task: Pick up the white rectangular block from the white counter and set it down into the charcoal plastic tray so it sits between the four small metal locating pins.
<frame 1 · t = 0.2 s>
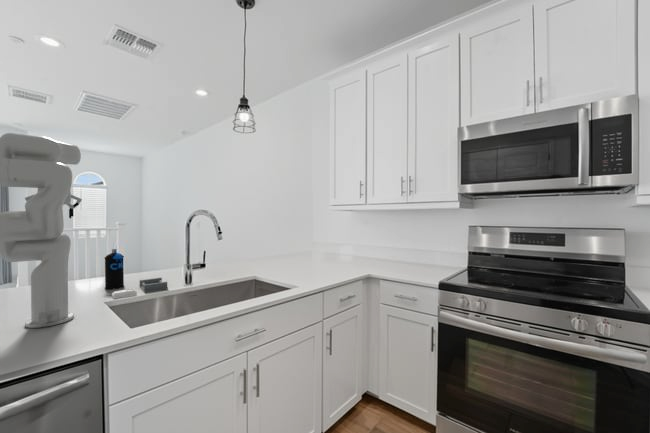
hand: (54, 218, 121), 36 cm above the worktop, tool pointing down, fingers open, 9 cm apart
white rectangular block: (124, 296, 136), on the worktop
pin tray: (153, 287, 149), on the worktop
aerosol can: (114, 288, 150), on the worktop
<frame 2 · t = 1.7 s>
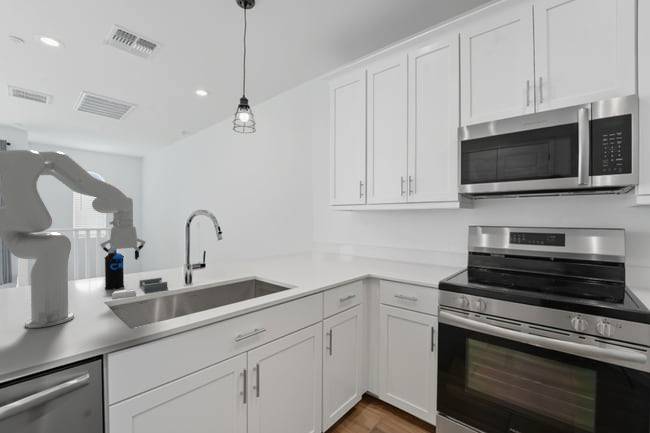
hand: (124, 260, 136), 16 cm above the worktop, tool pointing down, fingers open, 9 cm apart
nothing on the worktop moved.
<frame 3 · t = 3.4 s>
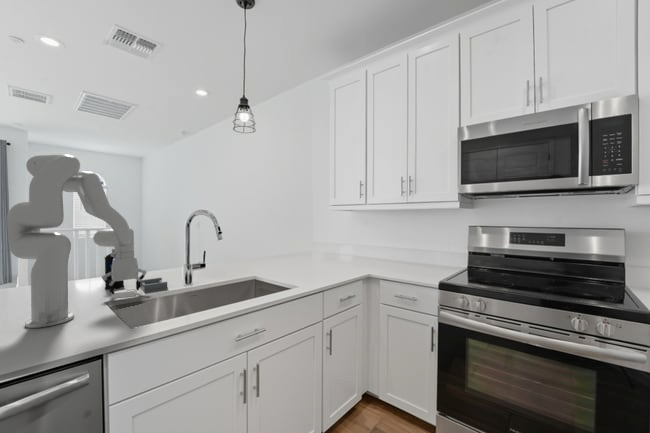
hand: (125, 291, 136), 2 cm above the worktop, tool pointing down, fingers open, 9 cm apart
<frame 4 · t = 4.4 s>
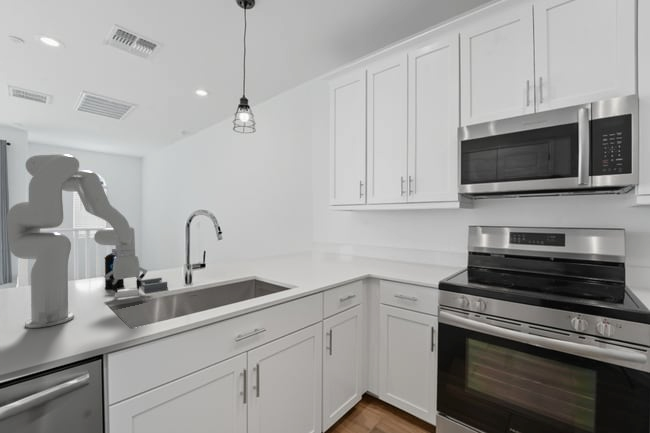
hand: (127, 290, 137), 2 cm above the worktop, tool pointing down, fingers closed on white rectangular block, 8 cm apart
white rectangular block: (127, 295, 137), on the worktop, touching gripper
everything else where it was.
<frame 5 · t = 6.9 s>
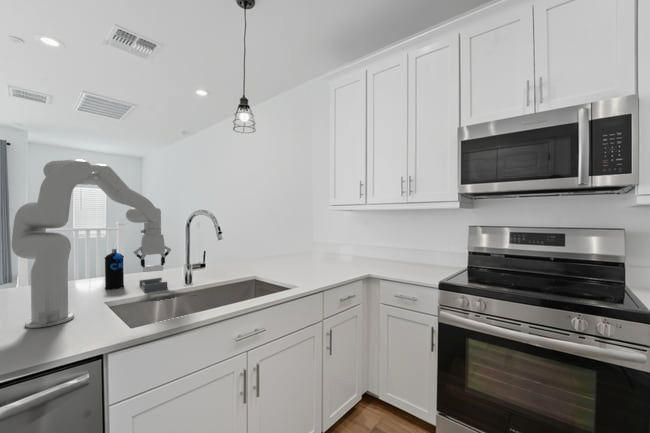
hand: (153, 265, 149), 11 cm above the worktop, tool pointing down, fingers closed on white rectangular block, 8 cm apart
white rectangular block: (153, 271, 149), point 9 cm above the worktop, touching gripper
everything else where it was.
when the fingers open (5 cm above the worktop, at t = 9.2 s): white rectangular block stays where it is, resting on pin tray.
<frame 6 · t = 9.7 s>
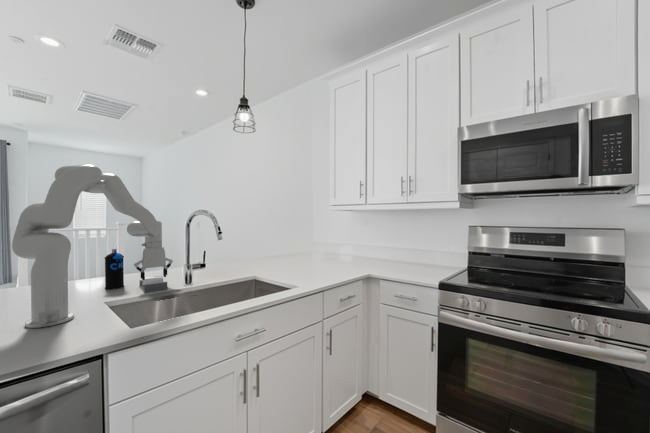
hand: (154, 278, 150), 5 cm above the worktop, tool pointing down, fingers open, 9 cm apart
white rectangular block: (153, 282, 149), point 3 cm above the worktop, touching gripper, pin tray
everything else where it was.
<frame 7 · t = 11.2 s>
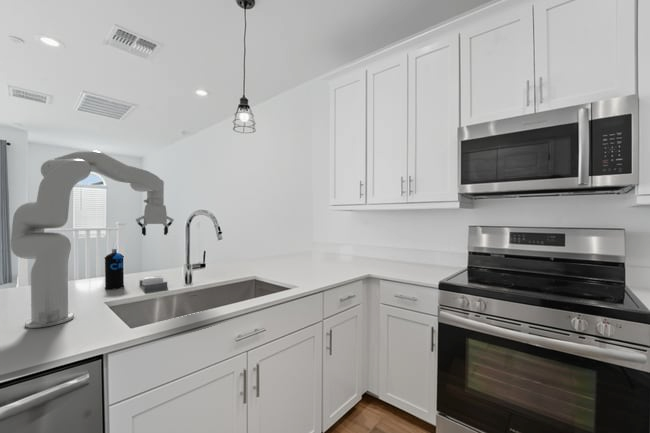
hand: (155, 235, 152), 27 cm above the worktop, tool pointing down, fingers open, 9 cm apart
white rectangular block: (153, 282, 149), point 3 cm above the worktop, touching pin tray
everything else where it was.
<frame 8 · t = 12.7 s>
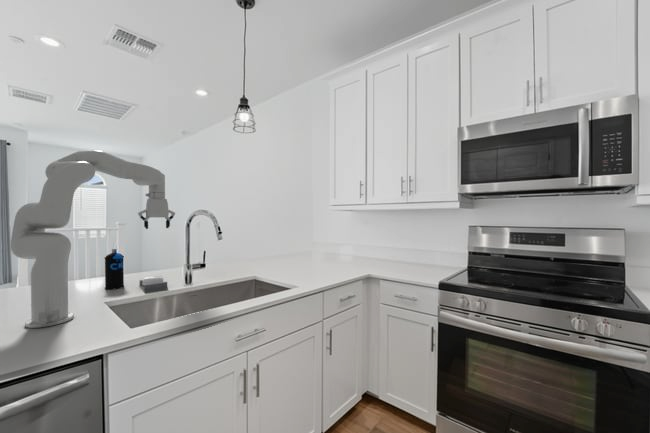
hand: (157, 228, 155), 30 cm above the worktop, tool pointing down, fingers open, 9 cm apart
nothing on the worktop moved.
at the end: white rectangular block 0.1 cm off-centre on the pin tray, point 2.6 cm above the pin tray's base; the gripper is holding nothing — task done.
